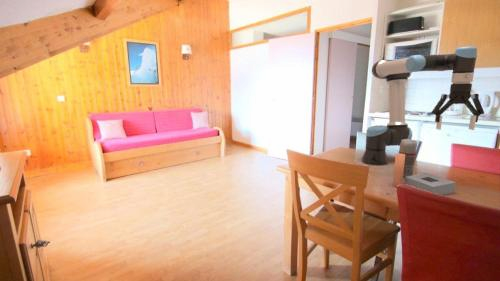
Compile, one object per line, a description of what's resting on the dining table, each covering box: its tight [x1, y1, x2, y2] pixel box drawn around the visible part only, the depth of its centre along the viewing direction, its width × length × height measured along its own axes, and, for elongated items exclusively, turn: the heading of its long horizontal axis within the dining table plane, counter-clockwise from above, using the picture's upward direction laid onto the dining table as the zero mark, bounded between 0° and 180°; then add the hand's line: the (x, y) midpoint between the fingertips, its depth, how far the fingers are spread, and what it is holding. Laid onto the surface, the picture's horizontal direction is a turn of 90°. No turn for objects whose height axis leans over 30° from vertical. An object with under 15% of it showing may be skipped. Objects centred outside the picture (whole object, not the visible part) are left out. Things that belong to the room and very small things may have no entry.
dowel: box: [392, 152, 405, 188], centre depth 126 cm, size 4×4×16 cm
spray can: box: [398, 139, 418, 178], centre depth 139 cm, size 8×8×20 cm
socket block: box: [404, 172, 457, 196], centre depth 121 cm, size 14×14×5 cm
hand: (454, 129), depth 120 cm, fingers open, 13 cm apart
